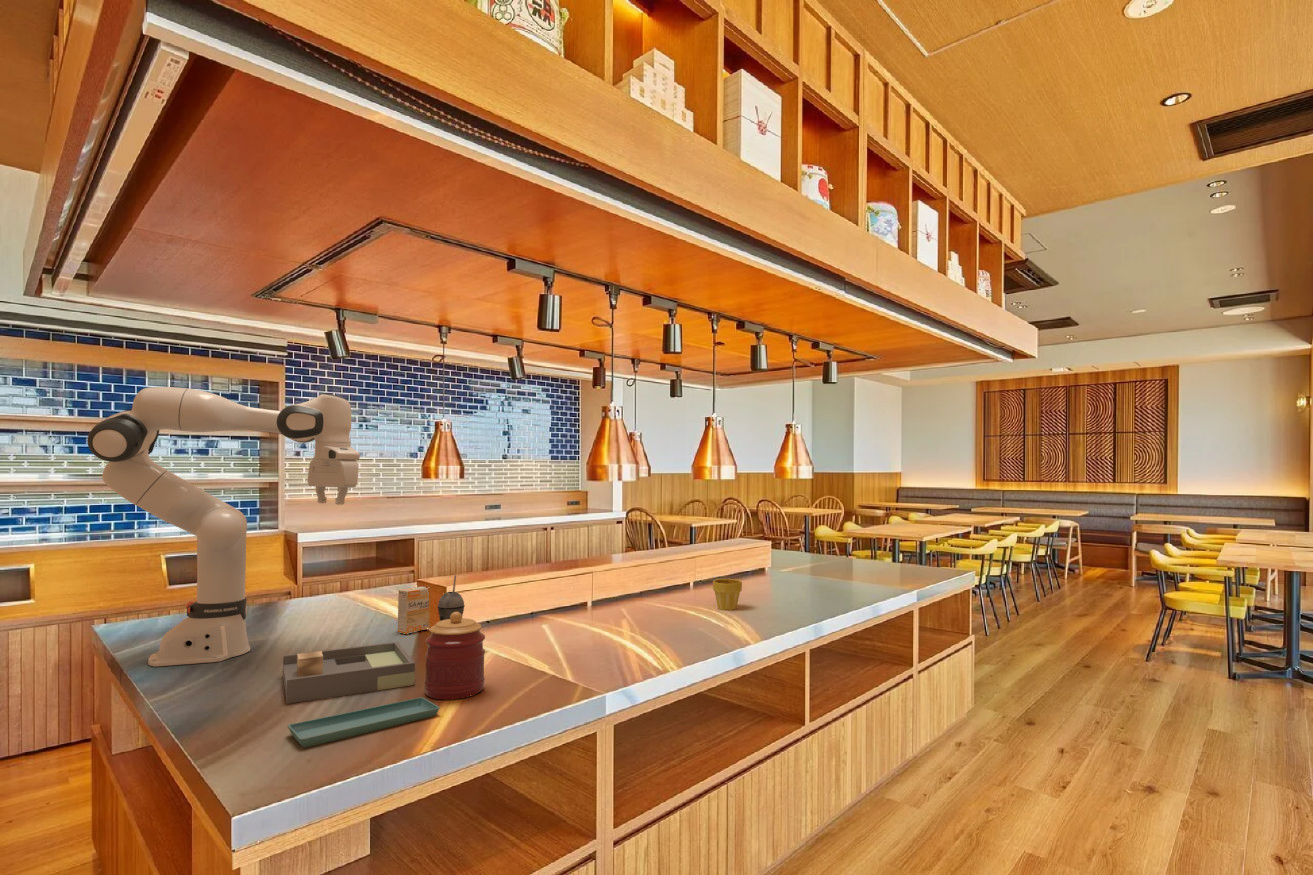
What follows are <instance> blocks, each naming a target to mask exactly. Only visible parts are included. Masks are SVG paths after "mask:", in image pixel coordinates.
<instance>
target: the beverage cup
mask: <svg viewBox="0 0 1313 875" xmlns="http://www.w3.org/2000/svg"><path fill="white" fill-rule="evenodd" d="M456 581H457V575H456V574H454V577H453V585H452V591H447V592H445V593H444V594H443V595H441V596H440V598H439V600H438V603H437V611H438V615H439V621H442V620H447V619H450V616H451V614H452V613H453V612H459V613H461V615H462V616H463V614H464V611H465V601H464V599H463V597H462V595H461V594H460V593H459V592H457V591H455V589H456V583H457V582H456Z"/></svg>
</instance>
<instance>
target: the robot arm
mask: <svg viewBox="0 0 1313 875" xmlns="http://www.w3.org/2000/svg"><path fill="white" fill-rule="evenodd" d="M351 408H352V406H351V404H350V402H349V400H347V399H346V398H345V397H342V396H339V395H335V394H331V393H322V394H320V395H318V396H317V397H315V398H313V399H310V400H308V401H304V402H301V403H297V404H292V405H288V406H286V407H285V408H283V409H282V410H273V409H266V408H257V407H252V406H251V407H250V406H247V405H243V404H240V403H237V402H235V401H232V400H230V399H227V398H226V397H224V396H221V395H218V394H215V393H212V392H210V391H209V392H208V391H205V390H201V389H193V388H185V387H175V386H171V387H170V386H153V387H152V386H150V387H144V388H142V389H141V390H140V391H138V392H137V394H136V395H135V397H134V399H133V402H132V408H131V409H125V410H123V411H120V412H117V413H114V414H111V415H110V416H107V417H106V418H105V419H104V420H102V421H100V422H98V423H96V424H95V425H94V426H93V427H92V428H91V430H90V431H89V433H88V436H87V439H86V442H87V446H88V449H89V450H90V452H91V453H92V455H94V456H95V457H97V458H98V459H100V460H102V461H105V462H108V463H107V464H106V465H105V466H104V469H103V470H102V471H103V472H102V481H103V483H104V485H107V487H109V488H110V489H111V490H112V491H114V492H115V493H116V494H118V495H119V496H121V497H122V498H123V499H125V500H127V501H128V502H129V503H131V504H133V505H135V506H136V507H139V508H140V509H142V510H144V511H146V512H147V513H149V514H150V515H153V516H154V517H156V518H159V520H162V521H164V522H165V523H167V524H171V525H172V526H174V527H177V528H179V529H181V530H183V531H185V532H187V533H188V534H191V535H193V536H196V564H197V568H196V569H197V575H196V576H197V577H196V579H197V580H196V601H189V602H187V604H186V605H185V608H186V618H185V619H183V620H182V621H180V622H178V624H176V625H175V626H174V627H172V628H171V629H169V630H168V631H166V633H165V634H164V635H163V636H162V639H161V640H160V643H159V648H158V651H155V652H154V653H152V654H150V656H149V657H148V661H147V664H148V666H151V667H165V666H167V667H168V666H179V665H191V664H193V665H194V664H204V663H205V664H206V663H217V662H222V661H225V660H227V659H230V658H234V657H237V656H241V655H244V654H247V653H248V652H250V651H251V646H250V642H249V638H248V634H247V633H248V632H247V627H246V625H247V624H246V619H247V615H248V602H247V600H248V599H247V598H246V578H247V577H246V575H247V574H246V573H247V572H246V571H247V568H246V567H247V566H246V565H247V562H246V561H247V533H248V532H247V531H248V520H247V518H246V516H245V514H244V513H243V512H241V510H239V509H237V508H235V507H234V506H233V505H231V504H228V503H227V502H225V501H223V500H221V499H219V498H218V497H216V496H214V495H212V494H211V493H209V492H206V491H205V490H203V489H201V488H199V487H197V486H195V485H193V484H191V483H190V482H188V481H187V480H185V479H183V478H182V477H180V476H179V475H176V474H175V473H174V472H171V471H170V470H168V469H166V468H164V467H162V466H161V465H159V464H158V463H156V462H155V461H154V460H152V459H151V457H150V456H149V455H150V454H151V453H153V451H154V448H155V444H156V442H157V439H158V437H159V435H160V431H162V430H170V431H171V430H172V431H181V432H190V433H191V432H192V433H196V432H197V433H208V432H209V433H210V432H211V433H212V432H222V431H233V430H234V431H235V430H237V431H238V430H245V431H257V432H264V433H272V434H279V435H282V436H284V437H285V438H286V439H288V440H289V439H290V440H291V441H294V442H296V443H301V444H302V443H303V444H304V443H305V444H306V443H310V442H311V443H312V442H313V441H315V442H314V456H313V457H312V460H310V462H309V465H308V471H307V472H308V473H307V484H308V486H309V487H315V492H316V497H317V503H318V504H327V498H328V497H327V496H326V494H325V491H326V488H337V492H338V493H337V496H336V497H335V505H340V506H342V505H344V504H345V498H346V496H347V494H348V490H349V488H351V489H352V488H356V486H357V485H358V482H359V481H358V480H359V479H358V478H359V463H358V461H360V459H361V458H360V457H361V454H360V452H359V451H357V450H355V449H354V448H353V447H352V446H351V445H352V444H351V443H352V442H351V438H350V433H351V429H352V409H351Z"/></svg>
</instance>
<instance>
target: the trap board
mask: <svg viewBox="0 0 1313 875" xmlns="http://www.w3.org/2000/svg"><path fill="white" fill-rule="evenodd" d="M318 651H319V650H317V651H315V652H318ZM321 651H322V654H323V674H319V675H311V676H304V677H298V674H297V654H301V652H300V653H293V654H283V660H282V661H283V662H282V663H283V664H282V665H283V669H282V678H283V687H284V695H285V702H286V705H291V704H296V703H304V702H309V701H317V700H323V699H329V698H337V697H342V696H343V697H344V696H349V695H355V694H363V693H369V692H375V691H376V692H377V691H383V690H389V689H395V688H402V687H408V686H409V687H410V686H414V685H415V674H416V673H415V670H416V669H415V668H416V667H415V664H416V662H415V661H414V660H413V659H412V657H411V656H410V655H409V654H408V653H407V651H406V650H405V649H404V648H403V646H402V645H401V644H400V643H399V641H394V642H393V641H392V642H385V643H377V644H367V645H359V646H350V647H343V648H335V649H326V650H325V649H324V650H321ZM309 652H310V651H309ZM309 652H307V653H309Z"/></svg>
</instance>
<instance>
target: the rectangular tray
mask: <svg viewBox="0 0 1313 875" xmlns="http://www.w3.org/2000/svg"><path fill="white" fill-rule="evenodd" d="M439 710H440V706H438V705H436V704H435V703H433V702H431V701H430V700H428V699H427V698H425V697H416V698H411V699H406V700H401V701H397V702H392V703H388V704H387V703H386V704H382V705H377V706H371V707H367V708H362V709H358V710H353V711H348V712H344V713H339V714H335V715H330V716H324V717H319V718H314V719H310V720H309V719H308V720H305V721H299V722H294V723H291V724H290V723H289V724H288V725H287V728H288V730H289V732H290V734H291V736H292V737H293V738H294V739H295V741H297V743H299V745H300V746H301V747H302V748H305V749H306V748H309V747H314V746H318V745H322V744H326V743H330V742H331V743H332V742H334V741H337V740H338V741H339V740H342V739H347V738H350V737H355V736H360V735H363V734H367V733H370V732H375V731H378V730H383V729H389V728H392V727H395V726H399V725H403V724H408V723H412V722H416V721H420V720H423V719H428V718H431V717H433V718H434V717H435V716H436V715H437V714H438V712H439Z"/></svg>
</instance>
